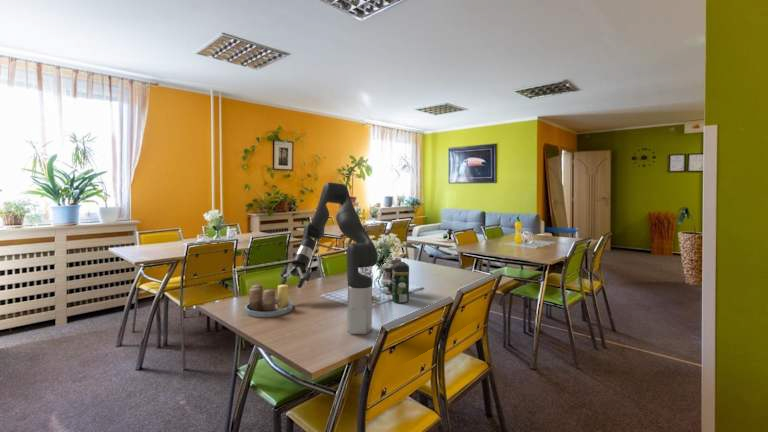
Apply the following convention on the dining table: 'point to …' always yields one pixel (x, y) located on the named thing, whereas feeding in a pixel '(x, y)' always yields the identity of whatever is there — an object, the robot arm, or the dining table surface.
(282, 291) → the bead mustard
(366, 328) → the robot arm
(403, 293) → the coffee jar
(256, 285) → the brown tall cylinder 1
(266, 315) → the tray
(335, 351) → the dining table surface
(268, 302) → the brown cylinder
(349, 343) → the dining table surface
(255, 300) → the brown cylinder
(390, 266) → the apothecary jar
